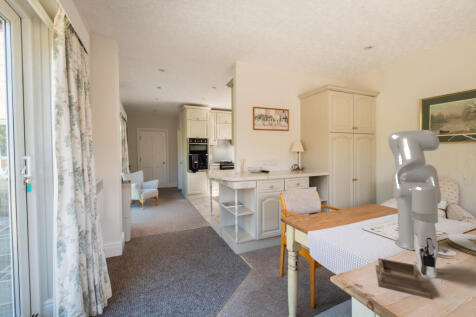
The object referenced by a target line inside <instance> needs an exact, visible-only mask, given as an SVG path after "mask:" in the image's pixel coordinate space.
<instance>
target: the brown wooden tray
mask: <svg viewBox="0 0 476 317" xmlns="http://www.w3.org/2000/svg"><path fill="white" fill-rule="evenodd" d="M377 259H378V261H377V262H378V264H375V272H376V278H377V283H378V287H380V288H383V289H388V290H392V291H396V292H401V293H404V294H409V295H411V296H412V295H413V296H418V297H422V298H424V299H428V300H429V299H430V300H431V299H432V298H431V293H430V291H429V290H428V287H427V285H426V280H425V279H424V276H423V275H421V273H420V271H419V269H418V268H417V265H416V264H413V263H407V262H401V261H396V260H390V259H385V258H381V257H380V258H379V257H378V258H377Z"/></svg>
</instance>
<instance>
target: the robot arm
mask: <svg viewBox="0 0 476 317" xmlns="http://www.w3.org/2000/svg"><path fill="white" fill-rule="evenodd" d="M388 146H389V149H390V151H391V153H392V154H393V157H394V164H395V170H394V171H393V174H392V181H391V182H392V188H393V190H392V191H393V195H394V196H395V199H396V207H397V209H396V210H397V227H398V228H397V230H398V231H397V234H398V239H395V240H394V243H395V245H396V246H398V247H399V248H403V249H405V250H407V251H408V250H410V251H413V250H415V248H414V234H416V235H417V242H418V246H419V247H420V248H422V247H423V250H424V255H423V265H424V266H428V267H435V256H434V249H436V237H437V231H436V224H438V223H439V207H438V205H439V204H440V203H441V201H442V192H441V186H440V179H439V174H438V171H437V169H436V167H435V166H434V165H432V164H426V163H427V162H426V156H425V153H424V152H428V151H429V152H431V151H436V150H438V149H439V147H440V139H439V137H438V135H437V134H436V133H435V132H433V131H431V130H429V129H416V130H406V131H405V130H403V131H397V132H393V133H391V134H390V135H389V136H388ZM426 243H427V245H428V247H425V245H426ZM433 246H434V247H433ZM426 249H428V251H426Z"/></svg>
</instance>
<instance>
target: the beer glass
mask: <svg viewBox="0 0 476 317" xmlns="http://www.w3.org/2000/svg"><path fill="white" fill-rule="evenodd" d="M438 244H439V243H438V237H437V236H436V249H434V256H435V267H428V266H424V265H423V255H424V250H423V247H422V248H420V247H419V246H418V242H417V235H416V234H414V248H415V251H414V253H415V256H416V261H417V263H416V264H417V265H416V266H417V268H418V269H419V271H420V273H421V275H422V277H426V278H431V279H434V278H437V277H438V272H437V267H436V265H437V262H438V261H437V260H438V255H439V245H438ZM425 247H428V245H427V243H426V245H425ZM433 247H434V246H433ZM426 251H428V249H426Z"/></svg>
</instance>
